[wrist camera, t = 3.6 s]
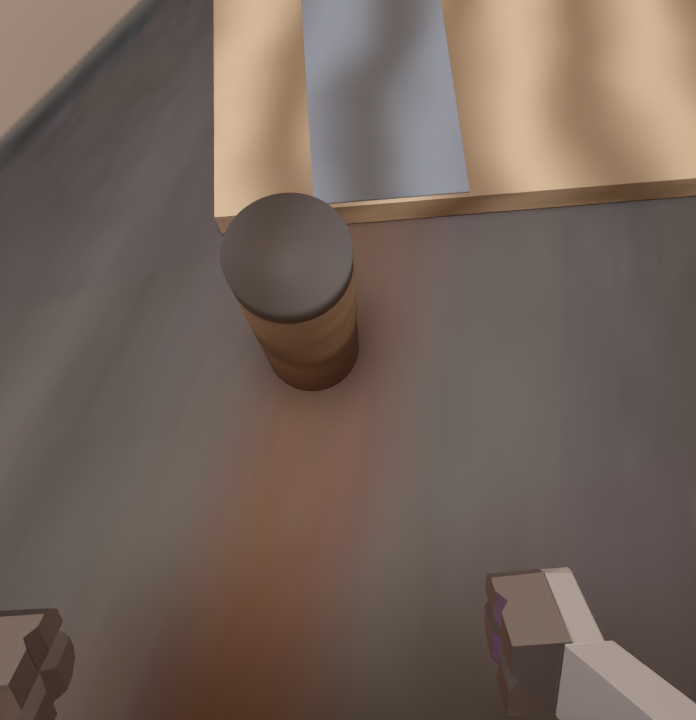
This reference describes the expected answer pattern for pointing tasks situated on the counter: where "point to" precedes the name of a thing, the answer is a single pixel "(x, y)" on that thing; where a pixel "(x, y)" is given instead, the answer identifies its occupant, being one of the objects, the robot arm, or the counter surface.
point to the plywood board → (453, 104)
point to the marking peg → (295, 286)
